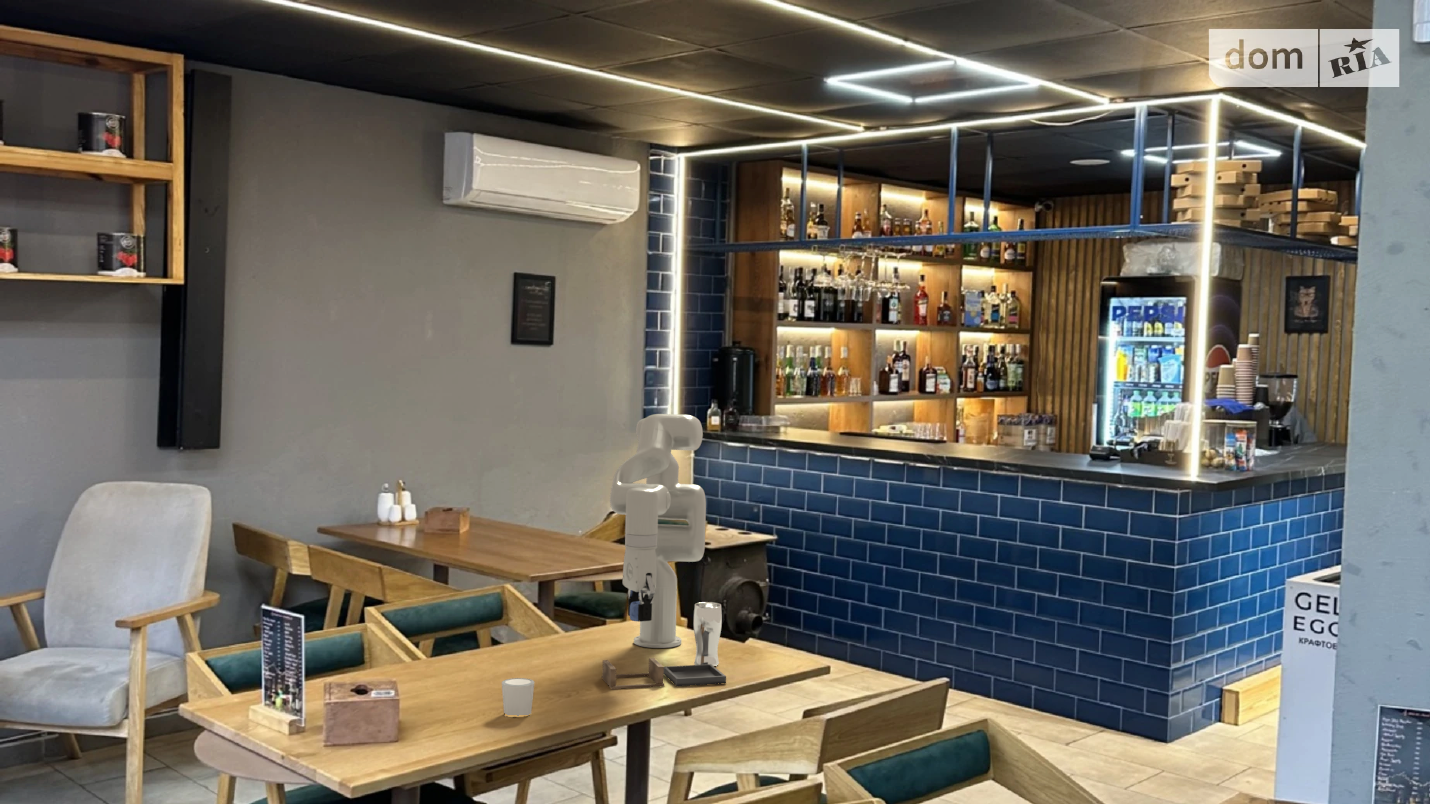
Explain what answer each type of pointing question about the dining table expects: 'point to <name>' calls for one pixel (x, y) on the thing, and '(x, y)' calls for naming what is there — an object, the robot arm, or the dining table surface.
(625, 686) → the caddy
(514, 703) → the white cup
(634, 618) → the decorative dice
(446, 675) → the dining table surface
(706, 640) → the beer glass
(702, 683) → the tray
